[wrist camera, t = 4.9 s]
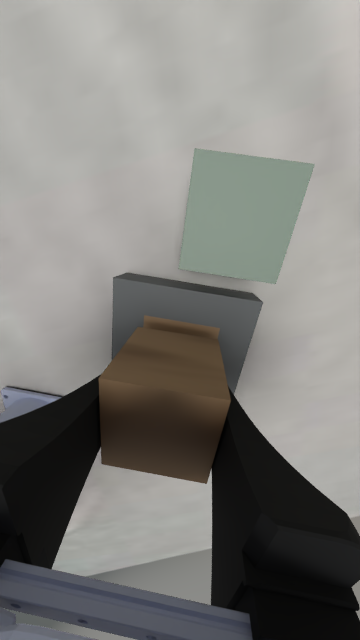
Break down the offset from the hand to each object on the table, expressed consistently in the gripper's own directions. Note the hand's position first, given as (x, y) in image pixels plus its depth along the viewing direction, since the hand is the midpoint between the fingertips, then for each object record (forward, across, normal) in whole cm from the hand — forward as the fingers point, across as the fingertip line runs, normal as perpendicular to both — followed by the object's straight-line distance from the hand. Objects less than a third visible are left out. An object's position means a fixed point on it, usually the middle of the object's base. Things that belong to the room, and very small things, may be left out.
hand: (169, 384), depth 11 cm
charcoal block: (+6, 0, 0) cm, 6 cm away
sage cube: (+6, -2, -9) cm, 11 cm away
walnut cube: (+2, 0, 0) cm, 2 cm away
